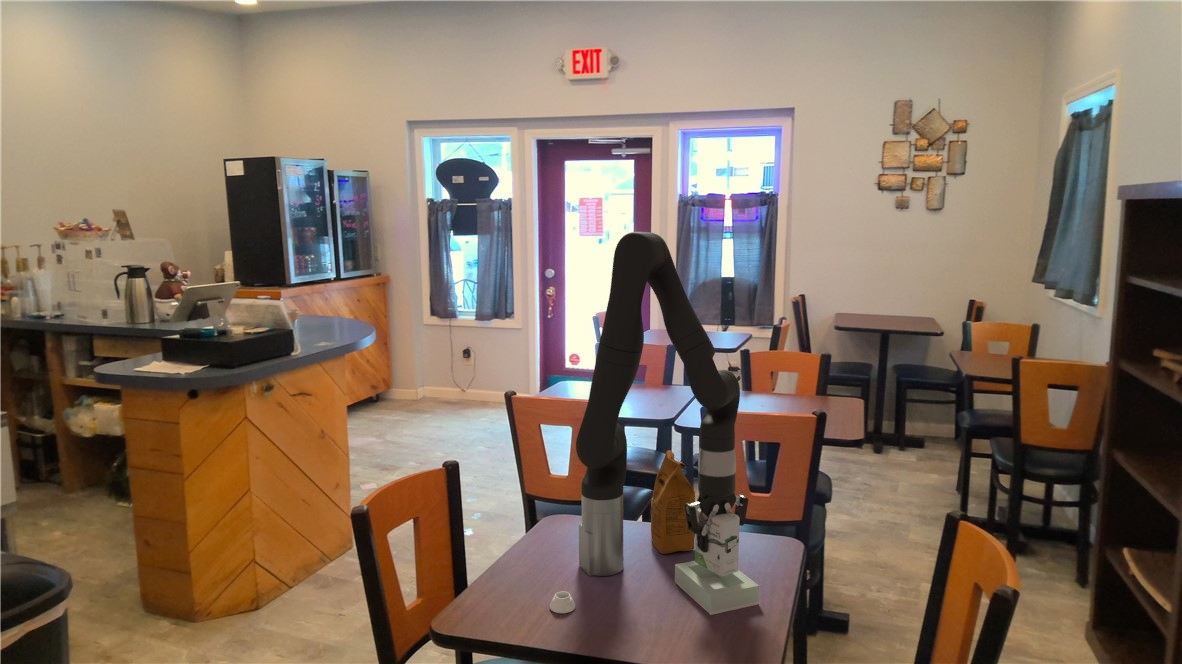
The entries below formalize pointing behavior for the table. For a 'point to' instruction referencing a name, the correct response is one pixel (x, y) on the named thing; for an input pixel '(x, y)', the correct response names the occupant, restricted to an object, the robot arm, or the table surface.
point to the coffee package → (671, 508)
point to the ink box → (720, 545)
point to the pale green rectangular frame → (716, 588)
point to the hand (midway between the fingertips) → (716, 548)
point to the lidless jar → (562, 603)
